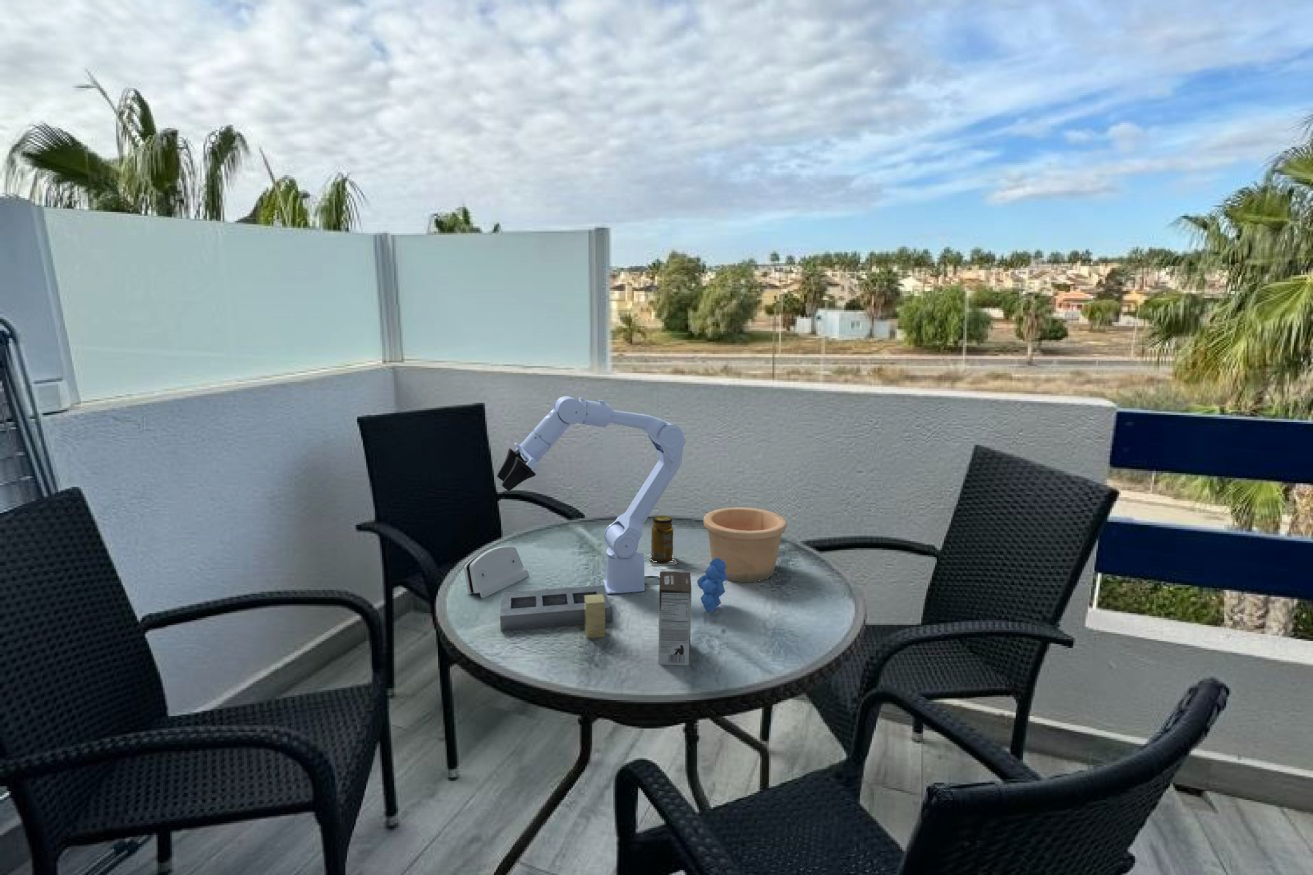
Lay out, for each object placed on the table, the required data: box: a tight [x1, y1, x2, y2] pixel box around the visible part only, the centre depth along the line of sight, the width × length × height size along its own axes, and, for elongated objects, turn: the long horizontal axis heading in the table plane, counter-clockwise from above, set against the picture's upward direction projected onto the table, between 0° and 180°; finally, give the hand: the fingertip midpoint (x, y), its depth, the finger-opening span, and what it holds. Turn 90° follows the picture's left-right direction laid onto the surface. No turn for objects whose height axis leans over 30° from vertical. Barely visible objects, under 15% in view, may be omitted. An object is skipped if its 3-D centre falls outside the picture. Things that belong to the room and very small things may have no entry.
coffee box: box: [658, 570, 692, 666], centre depth 132 cm, size 9×6×16 cm
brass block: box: [584, 594, 606, 639], centre depth 141 cm, size 4×4×8 cm
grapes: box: [696, 558, 727, 613], centre depth 153 cm, size 12×7×12 cm, turn 154°
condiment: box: [646, 515, 679, 567], centre depth 182 cm, size 7×8×12 cm
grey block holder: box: [499, 584, 611, 632], centre depth 150 cm, size 24×12×4 cm, turn 101°
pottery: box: [702, 506, 788, 583], centre depth 175 cm, size 22×22×14 cm
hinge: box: [463, 546, 530, 599], centre depth 166 cm, size 17×5×10 cm, turn 147°
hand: (502, 483), depth 150 cm, fingers open, 7 cm apart
